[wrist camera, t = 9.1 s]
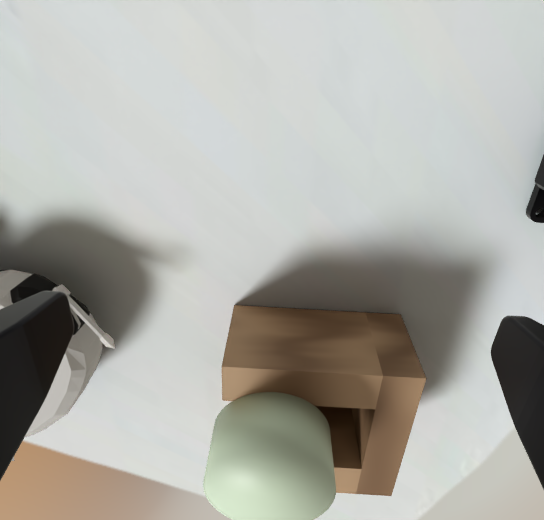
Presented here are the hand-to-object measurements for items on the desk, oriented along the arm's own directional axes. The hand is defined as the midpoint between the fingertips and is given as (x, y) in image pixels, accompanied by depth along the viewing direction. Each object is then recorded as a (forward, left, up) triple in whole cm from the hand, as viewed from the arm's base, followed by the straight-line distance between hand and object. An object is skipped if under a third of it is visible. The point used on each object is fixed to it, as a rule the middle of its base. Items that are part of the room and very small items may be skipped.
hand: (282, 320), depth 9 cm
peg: (0, +13, -10) cm, 17 cm away
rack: (-2, +13, -13) cm, 18 cm away
